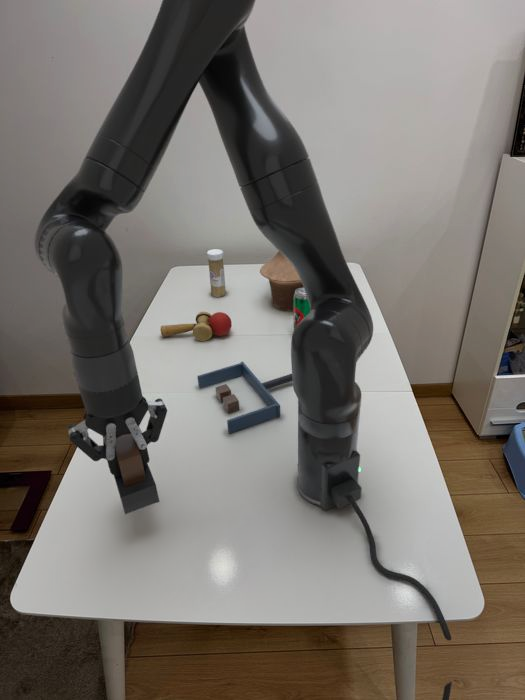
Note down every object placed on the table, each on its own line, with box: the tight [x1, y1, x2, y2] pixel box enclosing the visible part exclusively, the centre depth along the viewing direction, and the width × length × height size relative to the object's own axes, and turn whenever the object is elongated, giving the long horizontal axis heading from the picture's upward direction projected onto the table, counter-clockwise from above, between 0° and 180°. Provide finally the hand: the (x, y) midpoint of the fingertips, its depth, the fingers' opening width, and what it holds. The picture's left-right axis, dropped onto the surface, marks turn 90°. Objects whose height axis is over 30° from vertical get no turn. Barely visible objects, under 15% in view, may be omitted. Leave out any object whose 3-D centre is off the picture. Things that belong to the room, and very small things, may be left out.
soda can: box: [292, 288, 311, 330], centre depth 121 cm, size 5×5×12 cm
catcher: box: [197, 361, 293, 434], centre depth 102 cm, size 18×19×3 cm
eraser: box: [113, 434, 160, 515], centre depth 72 cm, size 10×5×8 cm, turn 26°
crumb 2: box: [222, 393, 240, 414], centre depth 99 cm, size 2×2×2 cm
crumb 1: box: [214, 383, 232, 404], centre depth 102 cm, size 2×2×2 cm
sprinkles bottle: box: [206, 248, 227, 298], centre depth 142 cm, size 5×5×13 cm
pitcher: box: [259, 250, 304, 312], centre depth 131 cm, size 18×17×28 cm
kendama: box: [159, 310, 232, 342], centre depth 124 cm, size 8×6×18 cm
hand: (130, 467), depth 72 cm, fingers closed on eraser, 3 cm apart
